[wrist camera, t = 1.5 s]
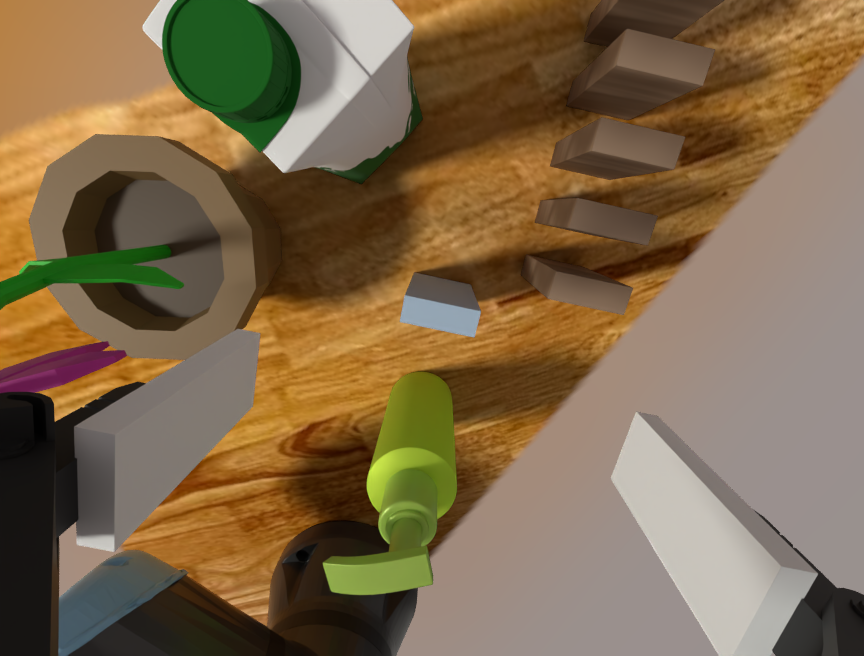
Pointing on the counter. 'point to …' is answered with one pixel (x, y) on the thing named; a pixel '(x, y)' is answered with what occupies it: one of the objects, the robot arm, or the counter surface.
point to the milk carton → (297, 76)
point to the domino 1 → (441, 305)
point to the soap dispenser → (405, 489)
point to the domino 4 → (617, 150)
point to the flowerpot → (142, 255)
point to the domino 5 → (597, 219)
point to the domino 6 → (576, 285)
